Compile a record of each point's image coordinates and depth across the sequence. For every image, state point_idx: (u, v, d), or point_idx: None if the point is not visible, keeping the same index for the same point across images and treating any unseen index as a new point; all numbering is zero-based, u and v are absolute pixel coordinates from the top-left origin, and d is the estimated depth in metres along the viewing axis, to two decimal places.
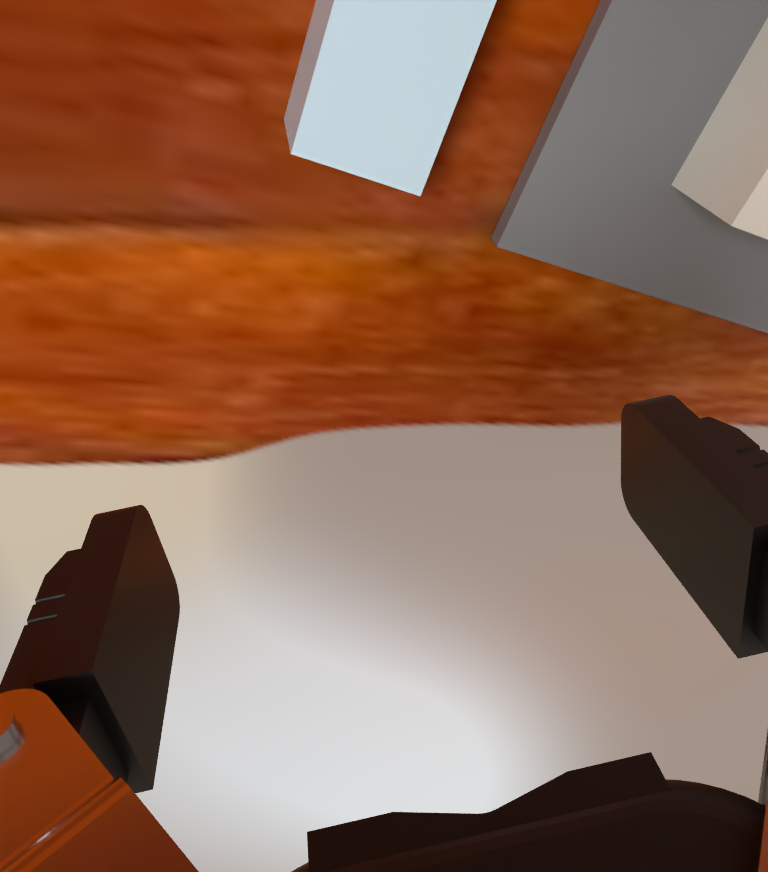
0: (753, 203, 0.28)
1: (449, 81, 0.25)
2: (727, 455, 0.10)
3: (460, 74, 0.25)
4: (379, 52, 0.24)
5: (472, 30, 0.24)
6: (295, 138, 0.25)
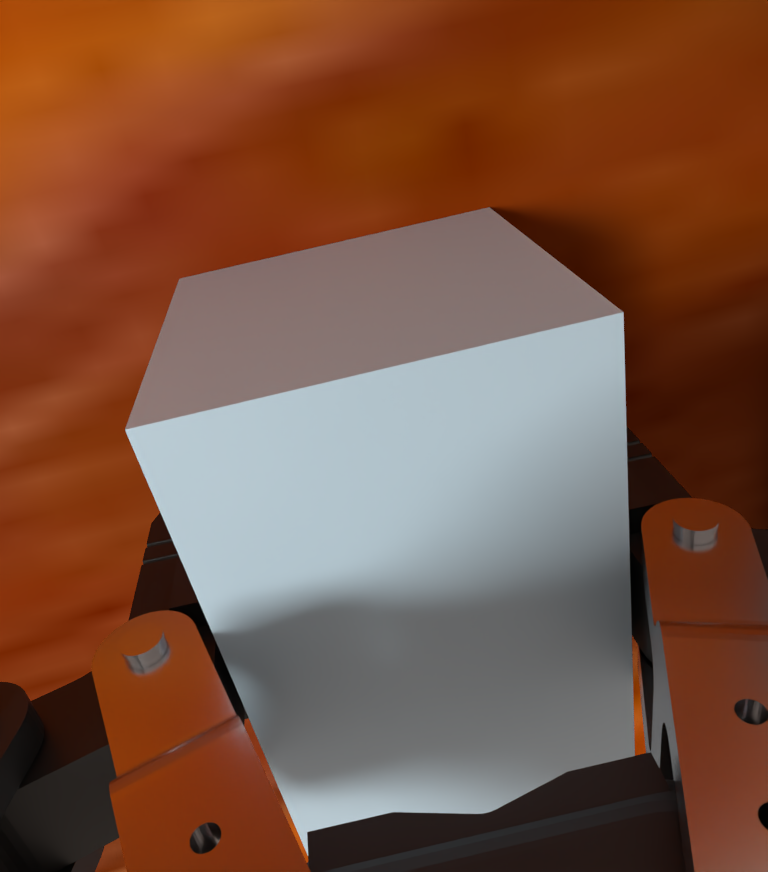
0: None
1: (591, 620, 0.09)
2: None
3: (611, 596, 0.09)
4: (390, 666, 0.09)
5: (594, 513, 0.08)
6: None
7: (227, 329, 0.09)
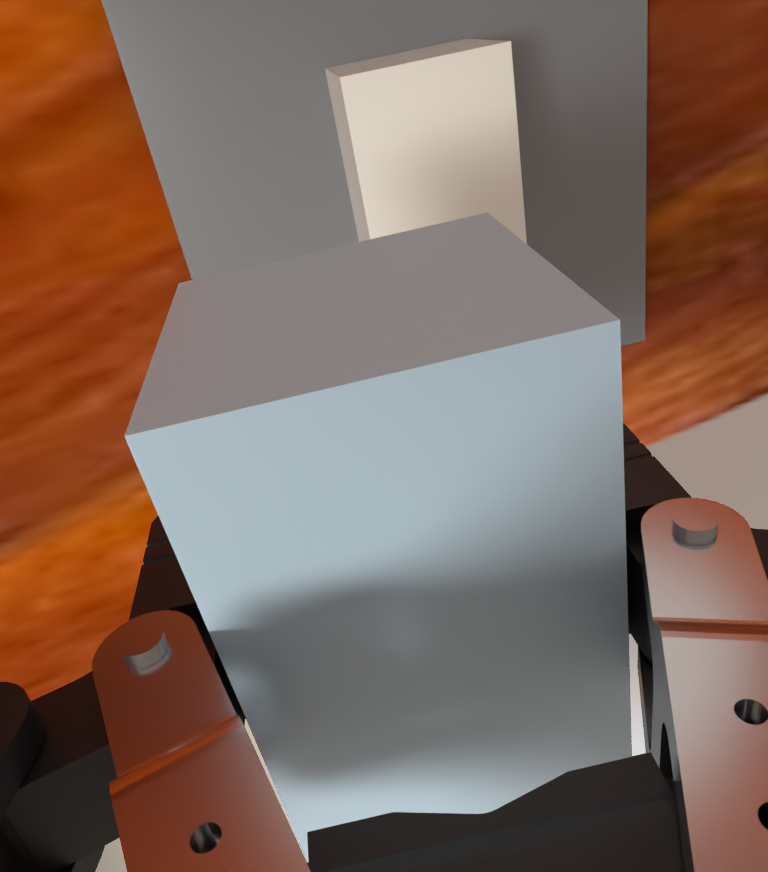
0: None
1: (588, 625, 0.09)
2: None
3: (608, 600, 0.09)
4: (387, 670, 0.09)
5: (591, 518, 0.08)
6: None
7: (225, 334, 0.09)
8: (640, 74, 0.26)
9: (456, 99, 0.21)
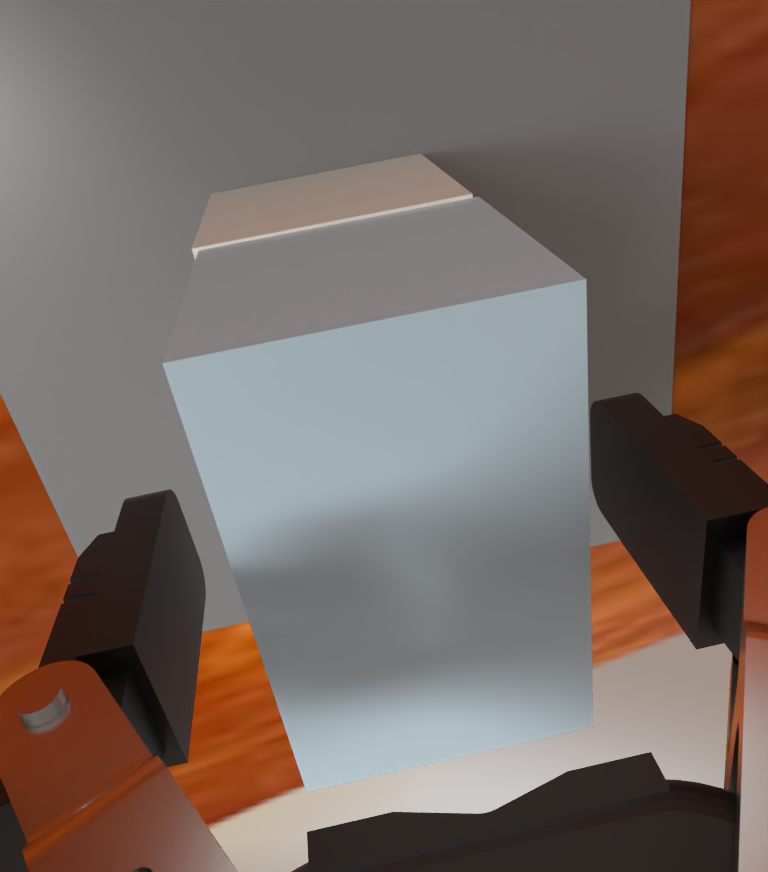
0: None
1: (555, 555, 0.10)
2: (687, 451, 0.10)
3: (573, 533, 0.10)
4: (379, 590, 0.10)
5: (559, 456, 0.10)
6: (301, 769, 0.12)
7: (245, 289, 0.10)
8: (671, 202, 0.19)
9: None
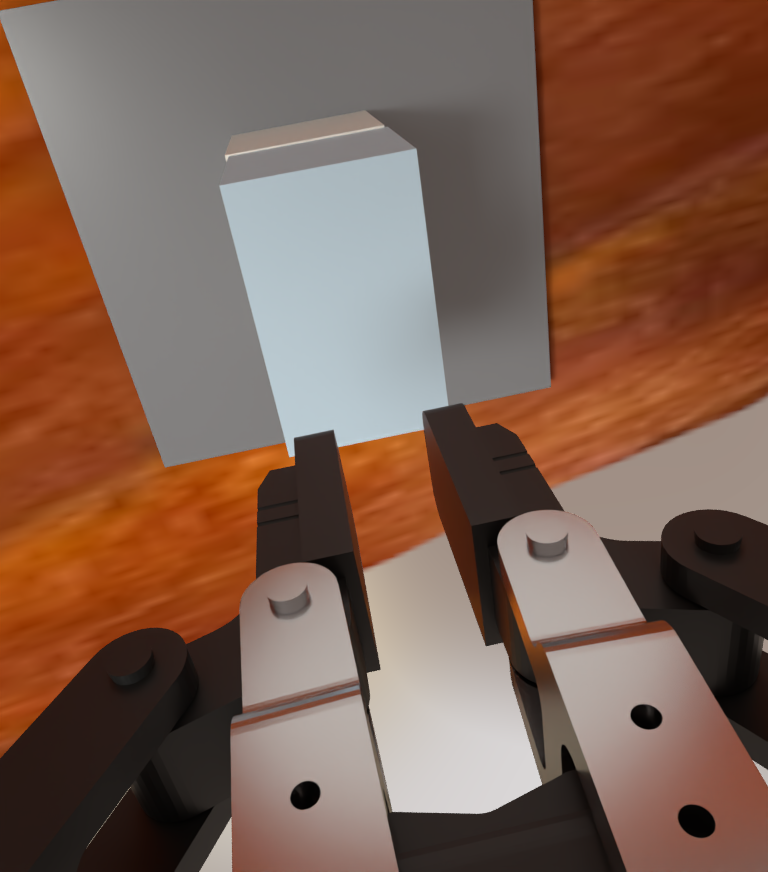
0: None
1: (417, 304, 0.20)
2: (481, 459, 0.11)
3: (425, 291, 0.20)
4: (324, 321, 0.20)
5: (413, 244, 0.19)
6: (286, 441, 0.22)
7: (256, 165, 0.20)
8: (533, 144, 0.28)
9: None
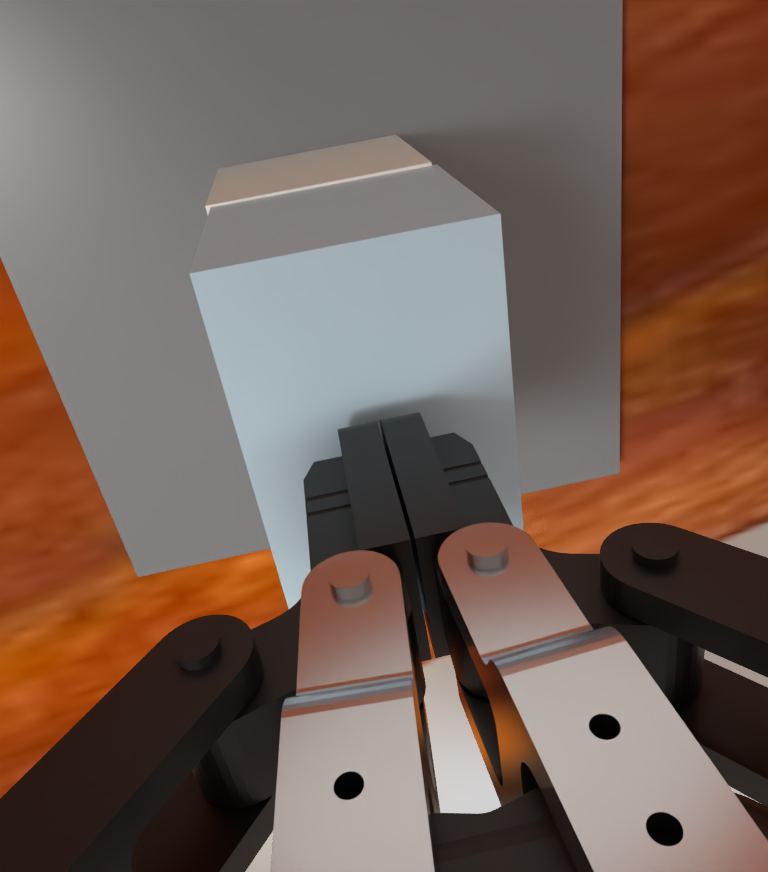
0: None
1: (489, 436, 0.14)
2: (432, 470, 0.11)
3: (502, 418, 0.13)
4: None
5: (488, 354, 0.13)
6: None
7: (249, 230, 0.13)
8: (613, 177, 0.22)
9: None
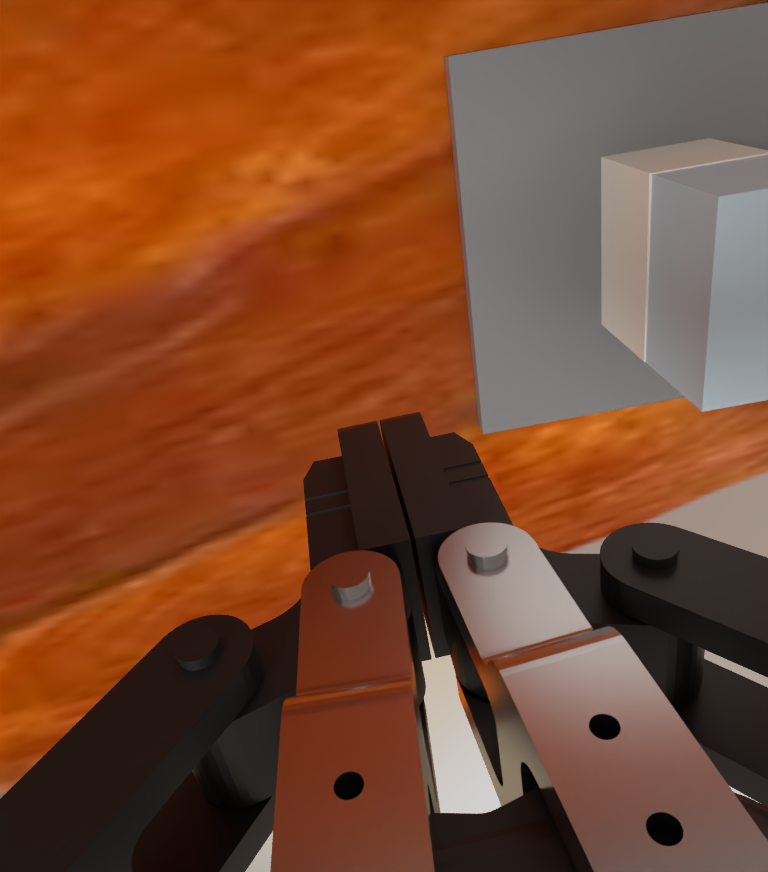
0: None
1: None
2: (432, 470, 0.11)
3: None
4: (761, 302, 0.26)
5: None
6: (702, 398, 0.27)
7: (711, 182, 0.26)
8: None
9: None
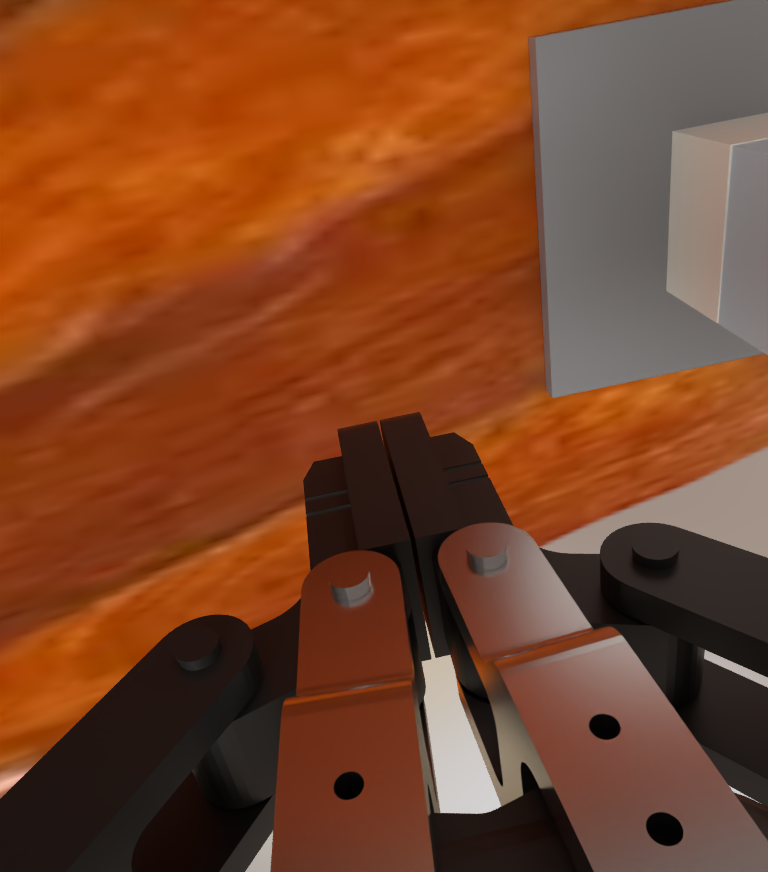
0: None
1: None
2: (432, 470, 0.11)
3: None
4: None
5: None
6: None
7: None
8: None
9: None
